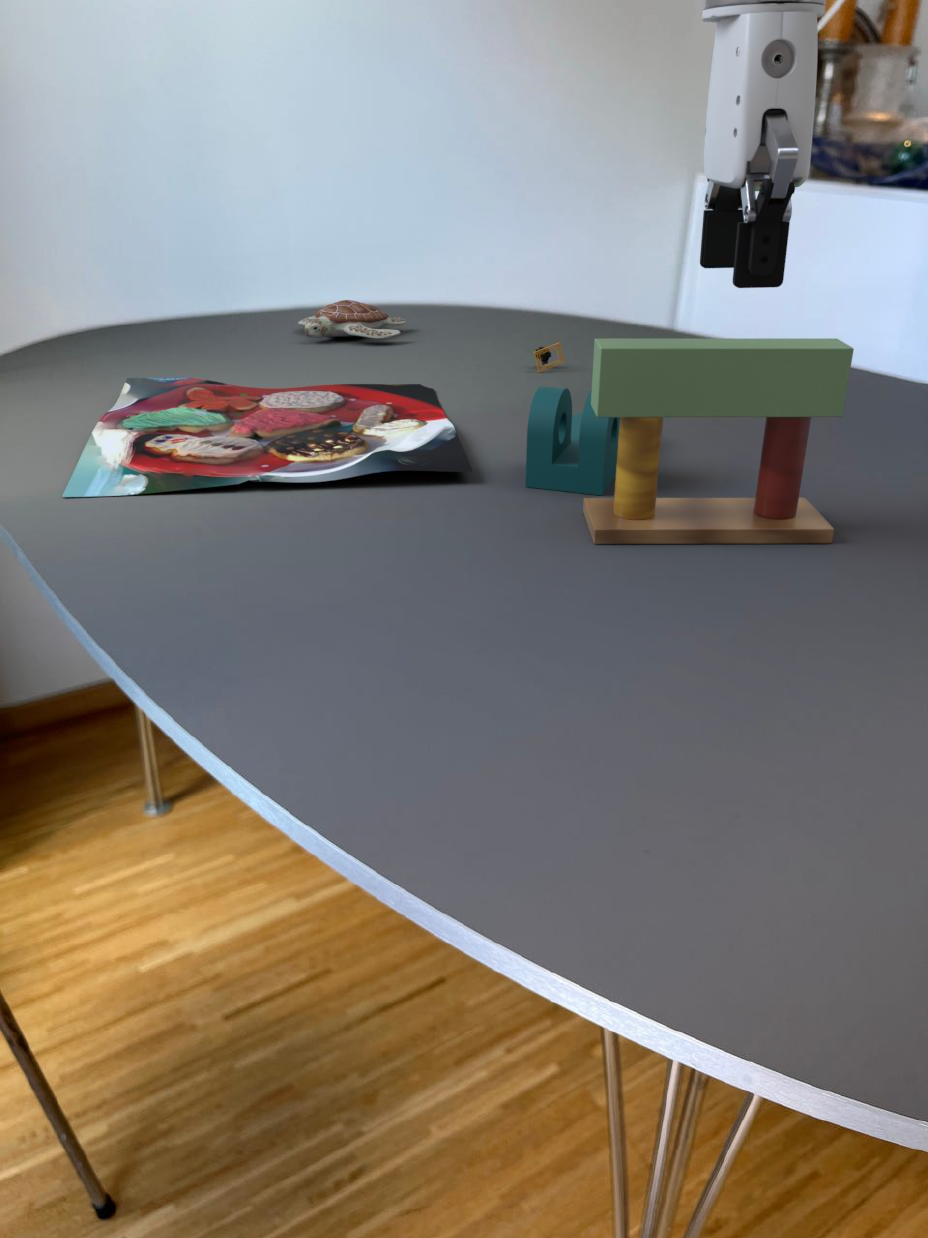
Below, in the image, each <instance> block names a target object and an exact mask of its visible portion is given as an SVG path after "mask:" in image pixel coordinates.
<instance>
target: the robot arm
mask: <svg viewBox="0 0 928 1238" xmlns="http://www.w3.org/2000/svg"><path fill="white" fill-rule="evenodd" d="M826 4H827V0H702V13H701V14H702V15H701V21H702V22H704V23H712V24H716V27H715V34H714V35H715V36H714V42H713V51H712V55H711V67H710V77H709V86H708V93H707V94H708V95H707V105H706V117H705V129H704V146H703V173H704V175H705V177H706V180H707V182H708V184H707V188H706V192H705V196H704V210H703V216H702V227H701V240H700V253H699V265H700V267H702V268H704V269H732V270H733V271H732V284H733V286H734V287H736V288H738V289H757V288H759V289H761V288H764V289H765V288H766V289H767V288H779V287H781V286H782V285H783V283H784V277H785V269H786V260H787V250H788V241H789V235H790V234H789V233H790V222H791V219H792V215H793V205H792V204H793V203H792V196H793V195H794V194H795V192H796V188H799V187H801V186H802V185H803V184H804V183H805V182H806V181H807V180H808V178H809V176H810V171H811V169H810V168H811V159H812V148H813V147H812V146H813V134H814V122H815V121H814V120H815V107H816V94H817V93H816V92H817V78H818V77H817V74H818V53H819V51H818V50H819V49H818V46H819V43H818V42H819V39H818V38H819V37H818V34H819V32H818V31H819V29H818V18H821V17H825V15H826ZM756 192H758V193H757V196H756Z"/></svg>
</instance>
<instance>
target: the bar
mask: <svg viewBox="0 0 928 1238" xmlns="http://www.w3.org/2000/svg"><path fill="white" fill-rule="evenodd" d="M854 350H855V349H854V347H852V346H851V345H849V344H847V343H846V342H844V341H842V340H840V338H594V343H593V359H592V377H591V391H592V393H591V406H592V408H593V410H594V412H595V414H596V416H597V417H663V418H766V417H811V418H843V414H844V410H845V404H846V398H847V392H848V387H849V380H850V373H851V369H852V361H853V356H854Z"/></svg>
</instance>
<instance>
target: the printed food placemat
mask: <svg viewBox="0 0 928 1238" xmlns="http://www.w3.org/2000/svg"><path fill="white" fill-rule="evenodd" d="M397 471H398V472H400V471H405V472H406V471H412V472H413V471H414V472H415V471H416V472H419V471H420V472H450V473H452V472H453V473H472V472H473V469H472V466H471V464H470V460H469V458H468V456H467V453H466V451H465V448H464V447H463V445H462V443H461V440H460V437H459V435H458V432H457V430H456V428H455V426H454V424H453V423H452V422H451V421H450V420H449V418H448V417H447V416H446V414H445V412H444V411H443V408H442V405H441V404H440V401H439V399H438V396H437V394H436V391H435V389H434V388H432V387H429V386H425V385H423V384H421V383H339V384H338V383H337V384H336V383H335V384H317V385H308V386H297V387H296V386H295V387H281V388H279V387H278V388H267V387H266V388H265V387H264V388H263V387H251V386H243V385H236V384H229V383H225V382H220V381H215V380H209V379H205V378H197V377H180V376H179V377H178V376H176V377H175V376H174V377H164V376H163V377H127V378H126V380H125V382H124V385H123V387H122V390H121V391H120V394H119V396H118V399H117V400H116V402H115V404H114V405H113V406H112V408H110V409H109V410H108V411H106V413H104V414H103V415H102V416H101V417H100V419H98V422H97V423H96V425H95V427H94V429H93V430H92V432H91V434H90V436H89V438H88V440H87V442H86V444H85V446H84V448H83V451H82V453H81V455H80V457H79V460H78V462H77V464H76V466H75V468H74V470H73V472H72V474H71V477H70V479H69V481H68V482H67V485H66V487H65V489H64V491H63V493H62V496H61V498H88V497H90V498H91V497H94V498H95V497H113V496H114V497H117V496H118V497H119V496H134V495H135V496H136V495H144V494H145V495H148V494H156V493H165V492H175V491H176V492H177V491H186V490H195V489H204V488H205V489H206V488H215V487H225V486H233V485H240V484H242V483H245V482H248V481H250V482H255V483H260V482H262V483H263V482H269V483H271V482H274V483H321V482H330V481H338V480H343V479H344V480H345V479H349V478H354V477H360V476H365V475H370V474H377V473H383V472H397Z"/></svg>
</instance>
